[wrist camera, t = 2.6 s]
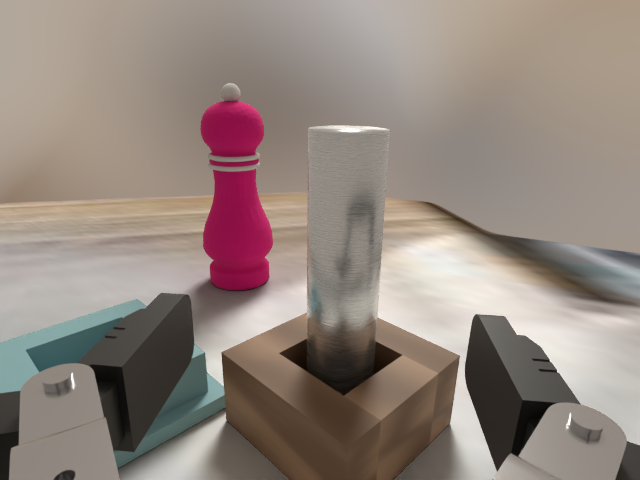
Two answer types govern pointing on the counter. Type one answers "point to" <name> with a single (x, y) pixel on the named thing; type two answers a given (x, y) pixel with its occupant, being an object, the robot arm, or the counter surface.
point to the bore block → (339, 404)
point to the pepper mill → (235, 195)
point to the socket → (82, 335)
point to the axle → (344, 251)
